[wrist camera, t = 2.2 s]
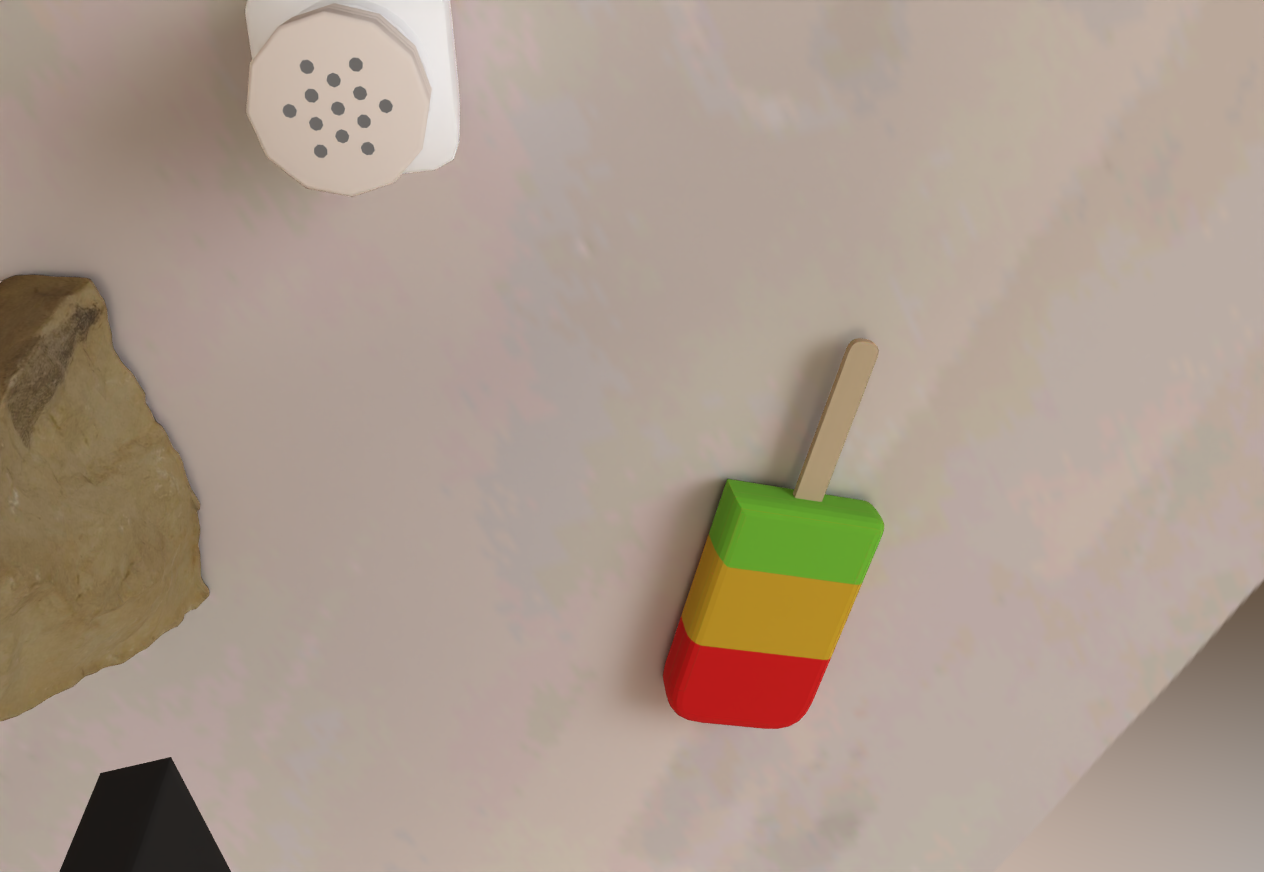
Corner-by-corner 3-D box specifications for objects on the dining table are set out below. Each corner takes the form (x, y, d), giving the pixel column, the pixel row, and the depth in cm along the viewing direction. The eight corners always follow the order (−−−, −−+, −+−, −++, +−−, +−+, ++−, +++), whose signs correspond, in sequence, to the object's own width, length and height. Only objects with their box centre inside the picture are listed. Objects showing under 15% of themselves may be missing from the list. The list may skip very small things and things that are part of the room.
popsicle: (651, 689, 38) (660, 725, 36) (775, 312, 32) (793, 335, 30) (788, 703, 39) (803, 738, 38) (933, 344, 33) (958, 368, 32)
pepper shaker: (446, -43, 26) (438, -18, 18) (462, 120, 28) (462, 212, 20) (283, -37, 26) (196, -10, 17) (311, 127, 27) (244, 225, 19)
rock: (-143, 210, 25) (-253, 561, 27) (-14, 375, 20) (-159, 782, 22) (251, 299, 33) (145, 557, 36) (402, 428, 29) (270, 714, 31)
